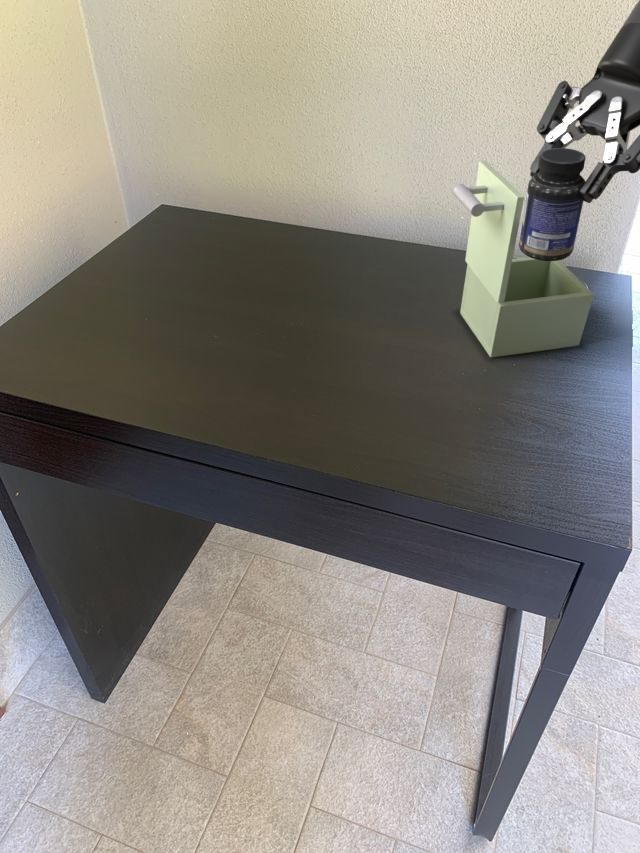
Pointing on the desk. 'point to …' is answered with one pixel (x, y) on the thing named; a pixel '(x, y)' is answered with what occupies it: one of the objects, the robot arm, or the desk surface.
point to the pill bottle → (553, 205)
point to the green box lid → (491, 227)
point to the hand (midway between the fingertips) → (559, 188)
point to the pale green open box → (528, 309)
